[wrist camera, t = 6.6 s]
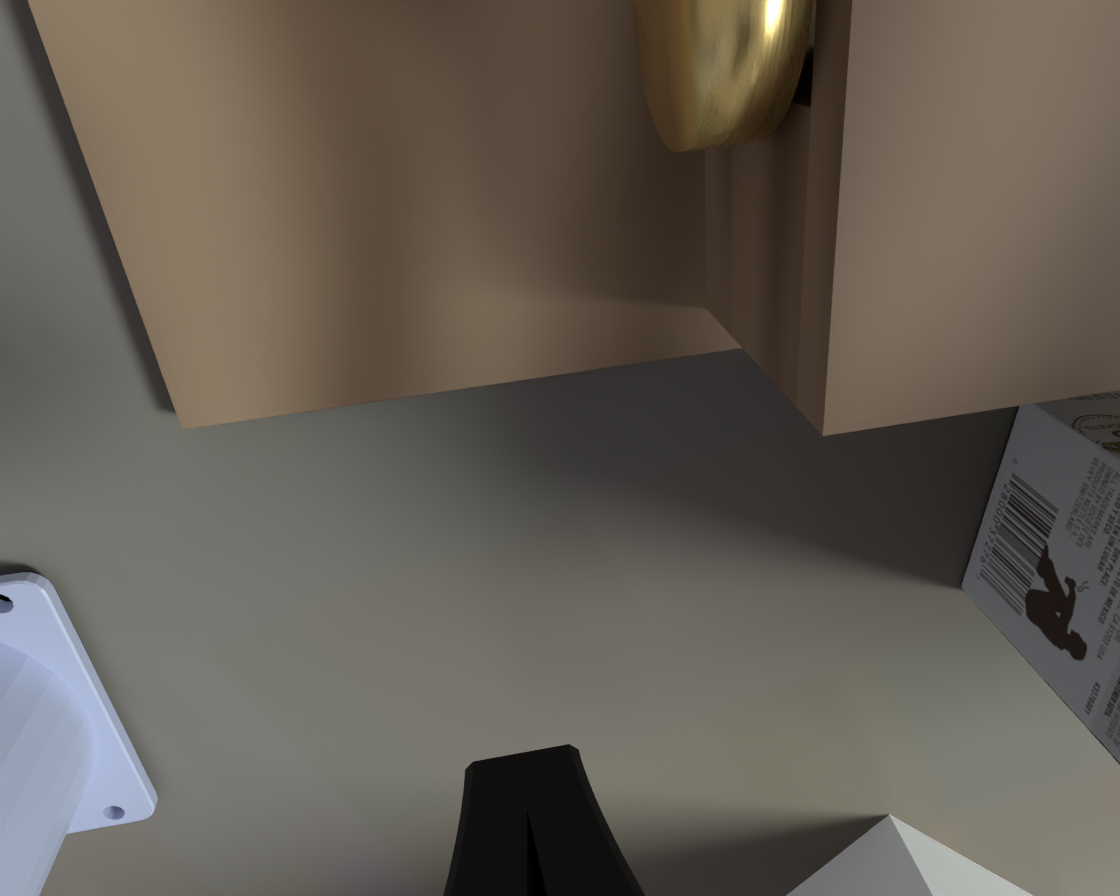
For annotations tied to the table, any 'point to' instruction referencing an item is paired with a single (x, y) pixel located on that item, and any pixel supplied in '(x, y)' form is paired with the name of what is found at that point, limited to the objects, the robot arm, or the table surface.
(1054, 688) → the cookie box
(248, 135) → the bearing block
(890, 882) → the milk
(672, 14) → the shaft
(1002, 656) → the table surface
